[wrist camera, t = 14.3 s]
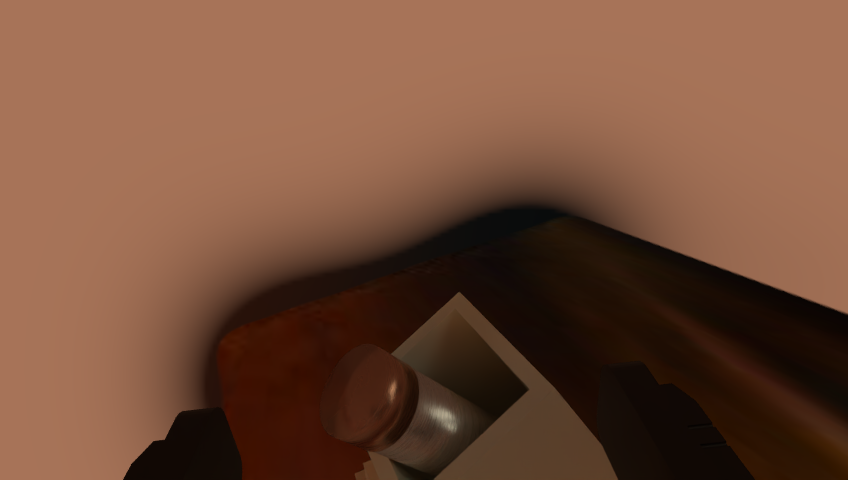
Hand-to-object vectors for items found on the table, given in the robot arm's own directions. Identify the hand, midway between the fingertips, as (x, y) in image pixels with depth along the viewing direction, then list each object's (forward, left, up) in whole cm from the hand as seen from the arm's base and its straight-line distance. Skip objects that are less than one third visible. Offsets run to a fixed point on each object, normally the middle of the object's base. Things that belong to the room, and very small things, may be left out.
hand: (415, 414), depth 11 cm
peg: (-9, -9, -18) cm, 22 cm away
